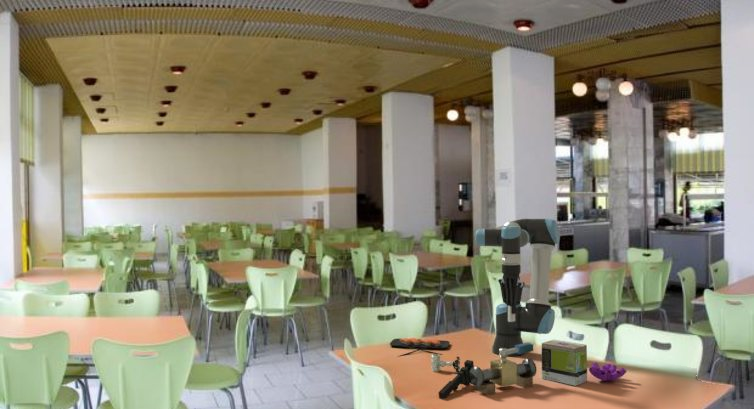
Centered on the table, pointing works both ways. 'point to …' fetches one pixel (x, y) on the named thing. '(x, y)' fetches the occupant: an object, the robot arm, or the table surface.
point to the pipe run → (503, 375)
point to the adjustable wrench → (457, 380)
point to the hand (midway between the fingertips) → (511, 321)
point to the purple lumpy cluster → (606, 372)
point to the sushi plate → (420, 344)
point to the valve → (443, 363)
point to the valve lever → (516, 349)
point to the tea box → (564, 362)
